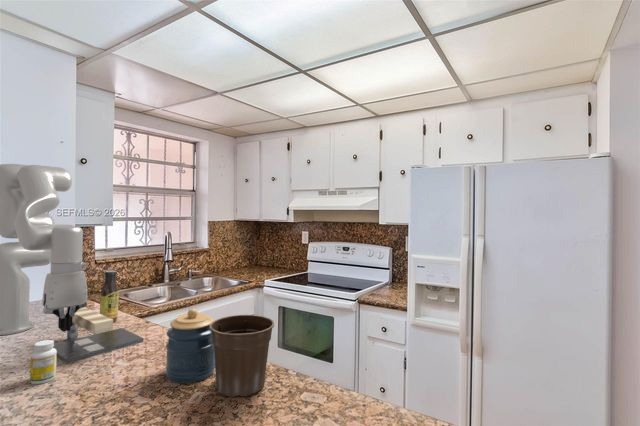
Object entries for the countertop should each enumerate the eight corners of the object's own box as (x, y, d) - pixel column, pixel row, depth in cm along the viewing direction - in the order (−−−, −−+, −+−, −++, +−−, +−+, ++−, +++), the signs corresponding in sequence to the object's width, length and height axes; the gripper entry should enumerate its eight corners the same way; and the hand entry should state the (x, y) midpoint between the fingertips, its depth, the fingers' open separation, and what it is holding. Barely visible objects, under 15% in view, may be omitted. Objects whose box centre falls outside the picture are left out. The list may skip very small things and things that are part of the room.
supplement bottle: (48, 383, 87) (49, 346, 87) (24, 385, 86) (25, 347, 86) (60, 374, 93) (61, 338, 93) (38, 375, 92) (38, 339, 92)
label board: (41, 345, 111) (42, 322, 111) (114, 327, 129) (114, 307, 129) (66, 363, 99) (67, 337, 99) (143, 341, 117) (143, 319, 117)
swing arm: (62, 316, 116) (62, 307, 116) (79, 313, 120) (79, 304, 120) (94, 333, 101) (94, 323, 101) (112, 329, 105) (113, 319, 105)
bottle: (109, 324, 133) (110, 273, 133) (95, 323, 134) (96, 272, 134) (122, 319, 139) (123, 270, 139) (108, 318, 140) (109, 269, 140)
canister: (224, 367, 99) (226, 305, 99) (194, 388, 87) (196, 318, 87) (188, 359, 104) (189, 301, 104) (154, 379, 91) (155, 312, 91)
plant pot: (238, 366, 100) (240, 310, 100) (284, 380, 92) (286, 320, 92) (194, 391, 86) (195, 326, 86) (244, 410, 78) (246, 339, 78)
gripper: (89, 264, 110) (88, 321, 110) (30, 269, 98) (29, 334, 98) (100, 266, 106) (98, 326, 106) (39, 272, 94) (37, 340, 94)
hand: (65, 330), depth 102 cm, fingers closed
